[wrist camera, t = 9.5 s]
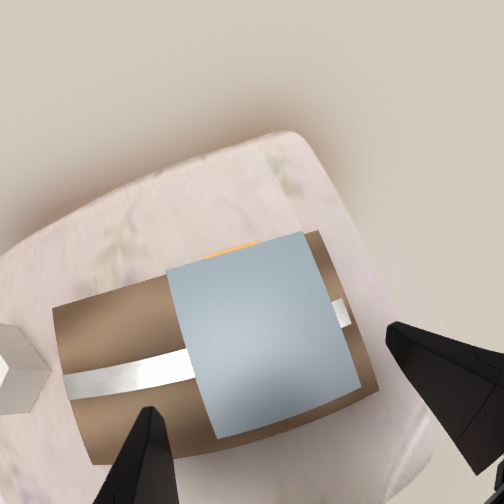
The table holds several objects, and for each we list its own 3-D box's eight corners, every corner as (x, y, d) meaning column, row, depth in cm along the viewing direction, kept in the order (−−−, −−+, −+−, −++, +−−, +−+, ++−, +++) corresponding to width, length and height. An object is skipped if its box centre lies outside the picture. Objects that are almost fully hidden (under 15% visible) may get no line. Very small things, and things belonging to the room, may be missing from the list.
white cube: (19, 328, 20) (-21, 315, 14) (52, 370, 18) (9, 367, 13) (-1, 369, 18) (-40, 364, 12) (30, 412, 16) (-11, 416, 11)
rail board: (373, 389, 19) (388, 391, 17) (97, 461, 16) (84, 469, 13) (315, 235, 24) (322, 221, 21) (58, 310, 20) (42, 304, 18)
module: (303, 374, 19) (361, 386, 9) (230, 398, 18) (217, 439, 8) (271, 284, 21) (296, 218, 11) (200, 306, 20) (162, 256, 10)
